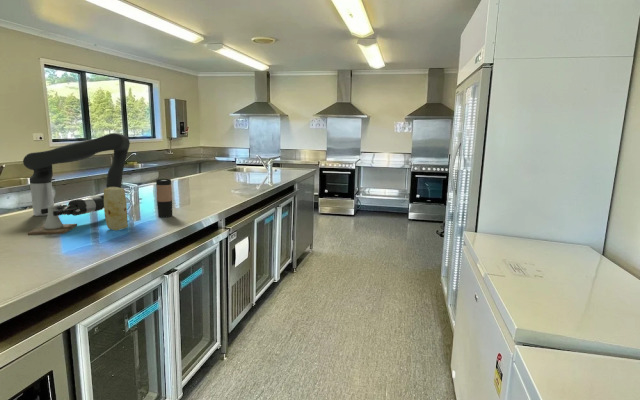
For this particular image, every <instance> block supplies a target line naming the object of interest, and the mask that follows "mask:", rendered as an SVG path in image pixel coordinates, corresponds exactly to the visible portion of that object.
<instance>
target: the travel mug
mask: <svg viewBox="0 0 640 400" xmlns="http://www.w3.org/2000/svg"><path fill="white" fill-rule="evenodd" d="M155 184H156V204H157V215H158V217H159V218H170V217H173V191H172V190H173V189H172V180H171V178H160V179H159V178H158V179H156V180H155Z"/></svg>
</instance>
